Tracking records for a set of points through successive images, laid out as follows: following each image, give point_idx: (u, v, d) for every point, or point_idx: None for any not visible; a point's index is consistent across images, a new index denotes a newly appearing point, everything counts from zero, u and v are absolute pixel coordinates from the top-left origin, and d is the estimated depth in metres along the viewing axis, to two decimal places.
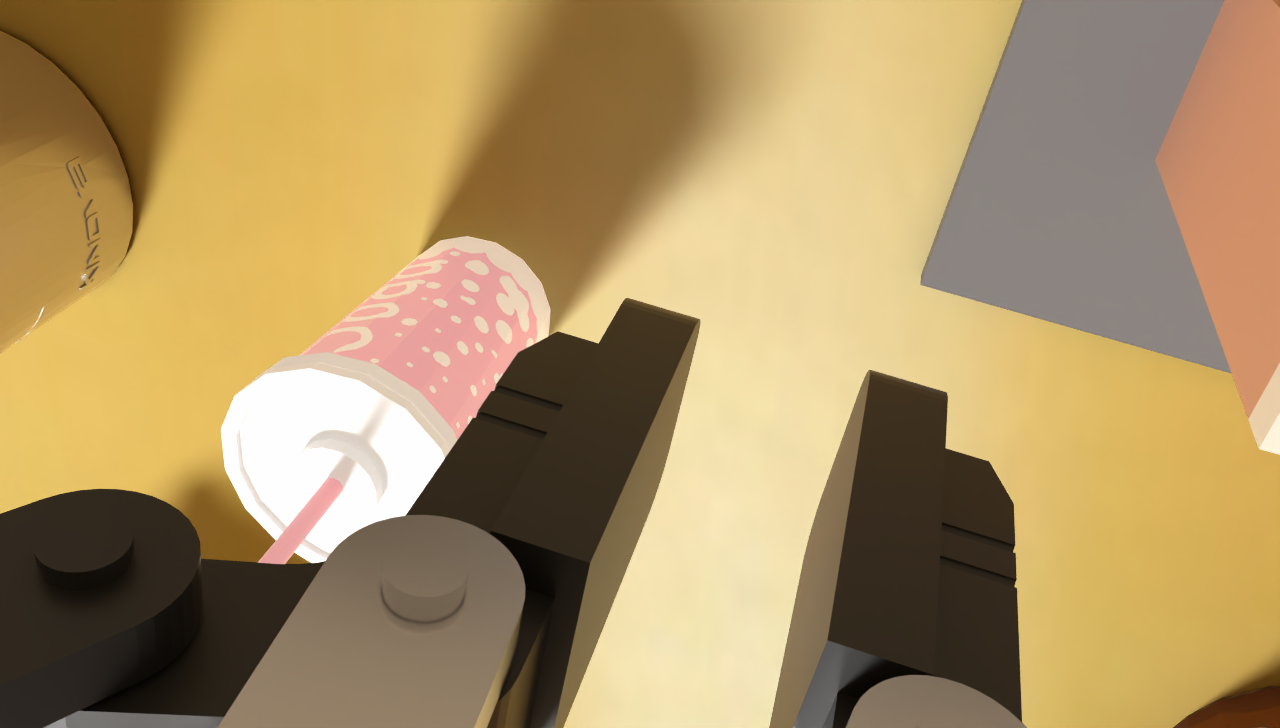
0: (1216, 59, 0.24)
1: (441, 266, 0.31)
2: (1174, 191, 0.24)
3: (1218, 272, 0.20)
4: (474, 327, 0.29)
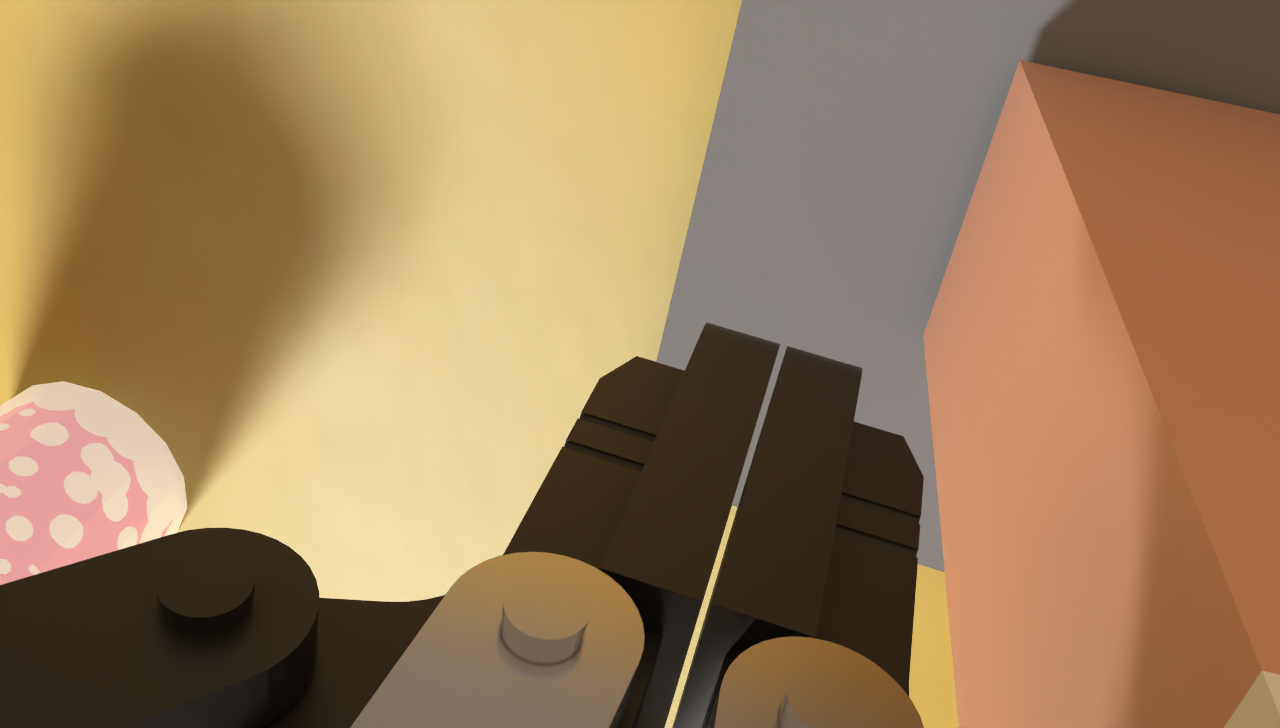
0: (988, 211, 0.15)
1: None
2: (936, 412, 0.16)
3: (970, 639, 0.12)
4: (2, 535, 0.21)
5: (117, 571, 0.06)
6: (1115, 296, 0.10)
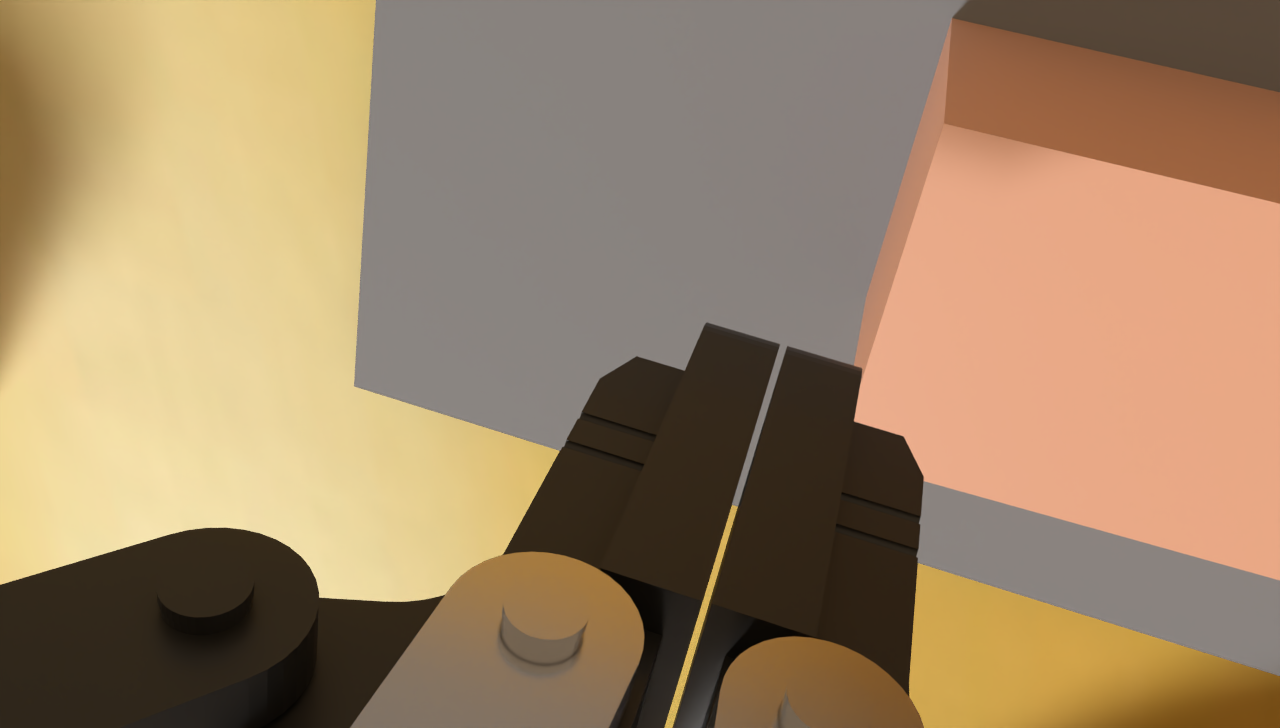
0: (1017, 294, 0.13)
1: None
2: (1044, 498, 0.14)
3: None
4: None
5: (117, 571, 0.06)
6: None
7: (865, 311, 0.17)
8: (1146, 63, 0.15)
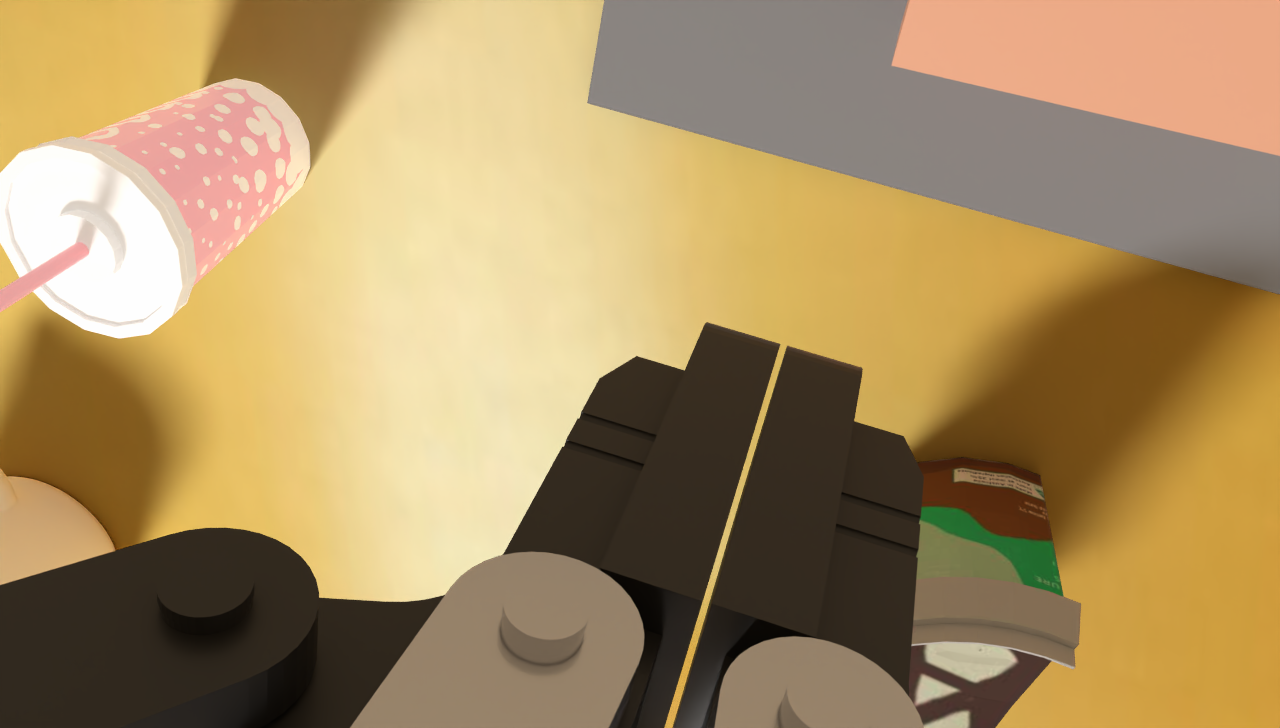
0: None
1: (202, 95, 0.37)
2: (995, 79, 0.28)
3: (1194, 111, 0.27)
4: (216, 136, 0.35)
5: (117, 570, 0.06)
6: None
7: (902, 20, 0.31)
8: None
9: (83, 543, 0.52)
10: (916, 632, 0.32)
